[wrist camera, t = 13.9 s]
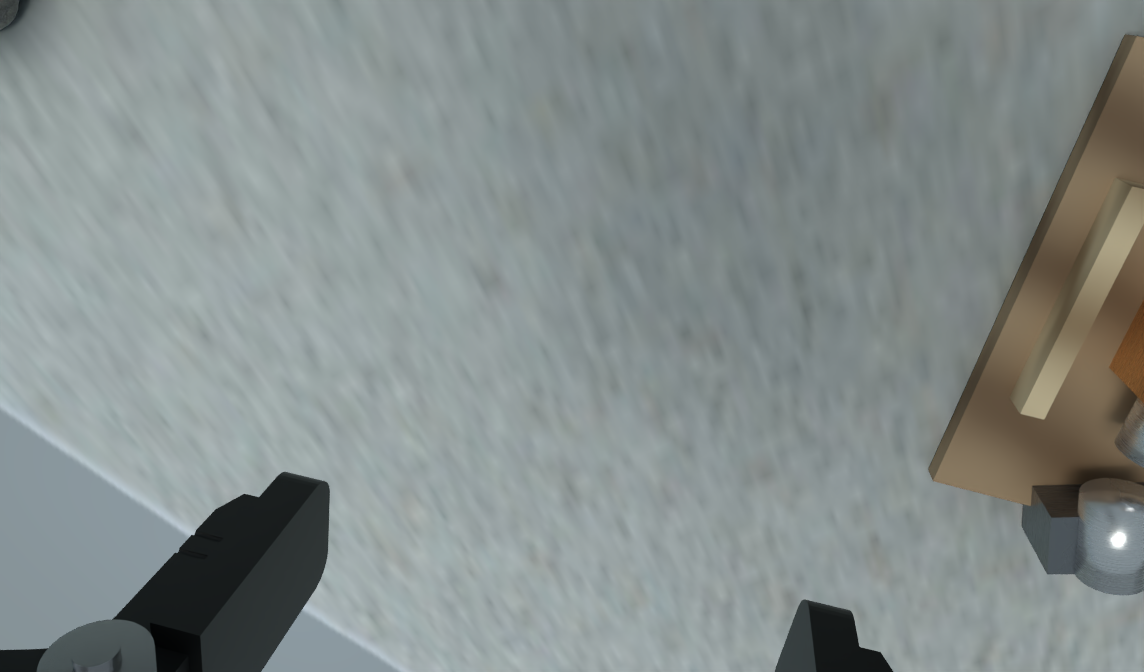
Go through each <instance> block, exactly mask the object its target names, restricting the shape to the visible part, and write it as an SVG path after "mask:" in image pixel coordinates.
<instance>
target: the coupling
mask: <svg viewBox="0 0 1144 672" xmlns="http://www.w3.org/2000/svg"><path fill="white" fill-rule="evenodd" d="M1109 368H1110V369H1111V370H1112V371H1113V372H1114V373H1115V374H1116V375H1117V376H1118V377H1119V378H1120V379H1121V380H1122V381H1123V382H1124V383H1125V384H1126V385H1127V386H1128V387H1129V388H1130V389H1131V390H1132V391H1133V393H1134V394H1135V395H1136V396H1137V397H1138V398H1137V399H1136V401H1135V403H1134V405H1133V407H1132V409H1131V411H1130V412H1129V414H1128V416H1127V418H1126V420H1125V422H1124V424H1123V425H1122V427H1121V429H1120V431H1119V433H1118V435H1117V436H1116V438H1115V441H1114V442H1115V445H1116V447H1117V448H1118V450H1119V451H1120V452H1121V453H1122V454H1123V455H1125V456H1126V457H1127V458H1128V459H1130V460H1131V461H1133V462H1134V463H1136V464H1138V465H1139V466H1141V467H1143V468H1144V300H1143V302H1142V304H1141V306H1140V308H1139V310H1138V312H1137V314H1136V315H1135V317H1134V319H1133V321H1132V323H1131V325H1130V327H1129V329H1128V331H1127V333H1126V335H1125V337H1124V339H1123V341H1122V343H1121V345H1120V347H1119V349H1118V351H1117V352H1116V354H1115V356H1114V358H1113V360H1112V362H1111V364H1110V366H1109Z"/></svg>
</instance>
